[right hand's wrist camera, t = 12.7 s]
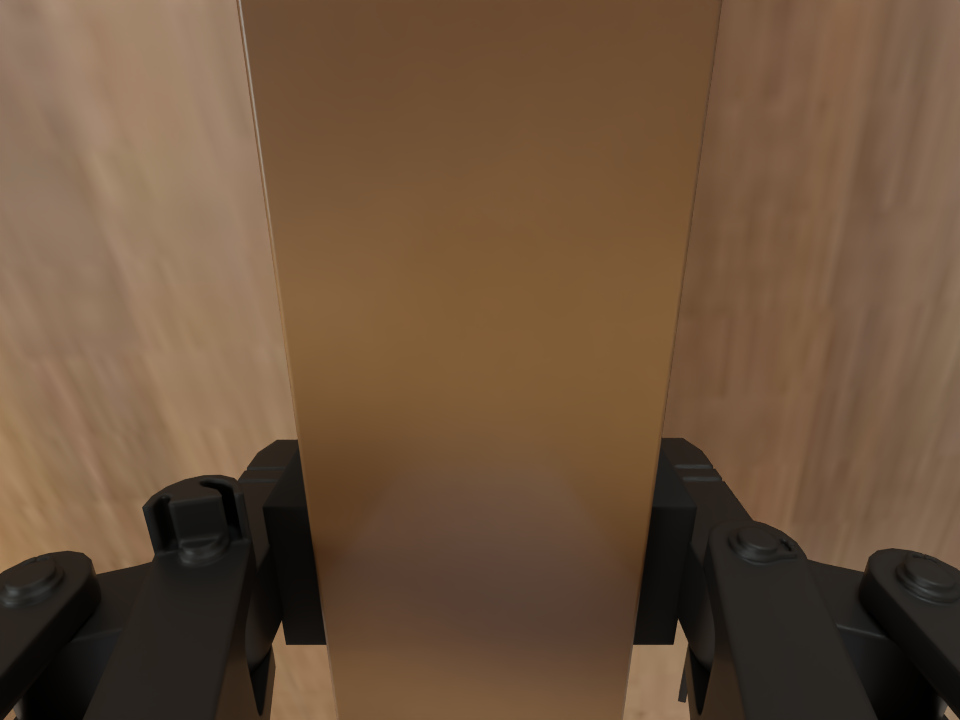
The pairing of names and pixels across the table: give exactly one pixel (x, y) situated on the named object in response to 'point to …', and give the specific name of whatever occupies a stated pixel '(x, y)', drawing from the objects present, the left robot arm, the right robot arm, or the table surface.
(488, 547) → the post
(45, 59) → the table surface
